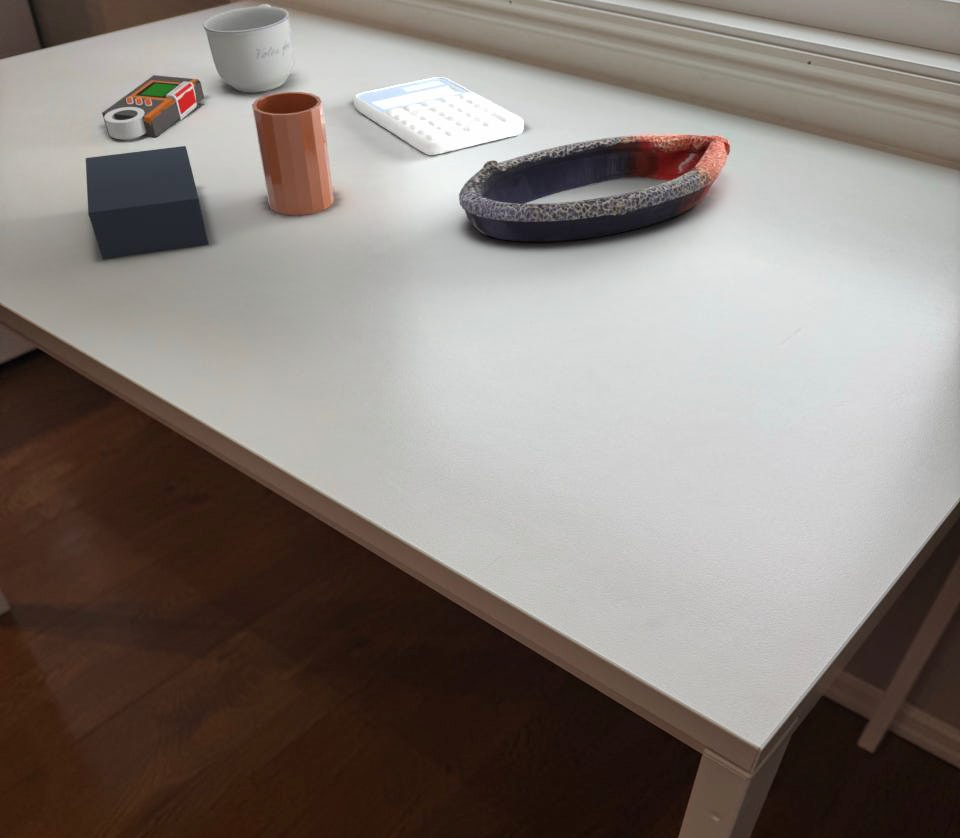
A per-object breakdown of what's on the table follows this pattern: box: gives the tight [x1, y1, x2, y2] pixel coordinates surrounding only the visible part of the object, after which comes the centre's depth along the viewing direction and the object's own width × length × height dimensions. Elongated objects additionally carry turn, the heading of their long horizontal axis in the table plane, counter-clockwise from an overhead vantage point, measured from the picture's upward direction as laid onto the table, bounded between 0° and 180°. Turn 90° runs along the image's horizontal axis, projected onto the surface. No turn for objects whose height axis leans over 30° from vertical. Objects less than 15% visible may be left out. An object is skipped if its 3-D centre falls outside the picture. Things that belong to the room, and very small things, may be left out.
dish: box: [458, 133, 731, 243], centre depth 97 cm, size 16×31×5 cm, turn 115°
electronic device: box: [101, 74, 205, 140], centre depth 118 cm, size 7×3×15 cm
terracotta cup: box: [251, 91, 335, 217], centre depth 97 cm, size 7×7×10 cm
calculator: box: [353, 76, 525, 156], centre depth 117 cm, size 13×20×2 cm, turn 31°
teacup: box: [202, 3, 296, 93], centre depth 126 cm, size 14×11×8 cm
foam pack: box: [85, 145, 210, 260], centre depth 96 cm, size 10×14×5 cm
